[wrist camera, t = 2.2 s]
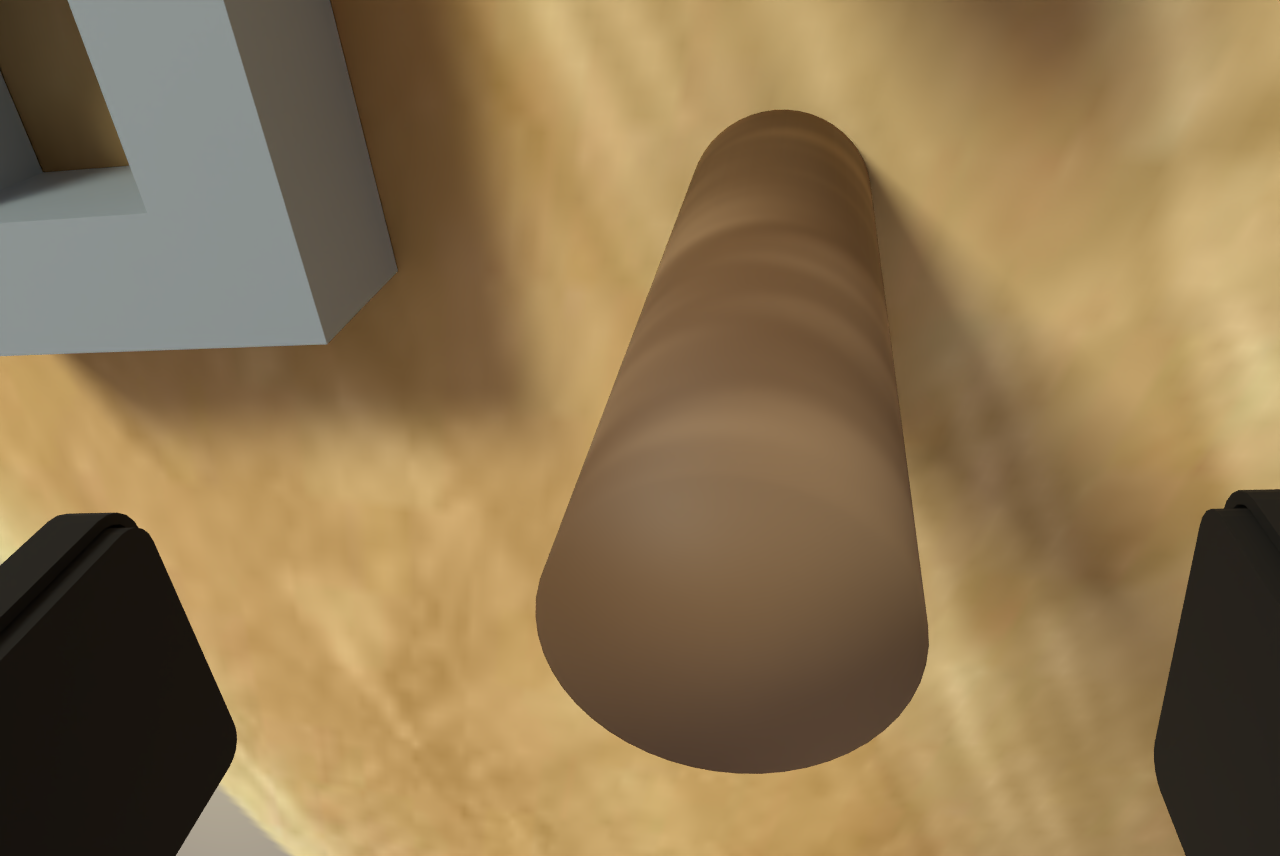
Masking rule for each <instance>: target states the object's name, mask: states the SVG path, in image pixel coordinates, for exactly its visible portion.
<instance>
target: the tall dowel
mask: <svg viewBox="0 0 1280 856" xmlns="http://www.w3.org/2000/svg"><path fill="white" fill-rule="evenodd" d="M536 623H537V631H538V636H539V640H540V643H541V646H542V650H543V653H544V655H545V657H546V660H547V662H548V664H549V666H550V668H551V670H552V672H553V673H554V675H555V677H556V678H557V680H558V681H559V683H560V684H561V686H562V687H563V689H564V690H565V691H566V692H567V693H568V695H569V696H570V697H571V698H572V699H573V700H574V702H575V703H576V704H577V705H578V706H579V707H580V708H581V709H582V710H583V711H585V712H586V713H587V714H588V715H589V716H590V717H591V718H592V719H593V720H595V721H596V722H597V723H599V724H600V725H601V726H603V727H604V728H605V729H607V730H608V731H609V732H611V733H613V734H614V735H616V736H618V737H619V738H621V739H622V740H624V741H626V742H627V743H629V744H631V745H633V746H636V747H638V748H640V749H642V750H644V751H646V752H648V753H650V754H653V755H656V756H658V757H661V758H664V759H666V760H669V761H672V762H676V763H680V764H683V765H687V766H690V767H695V768H700V769H706V770H711V771H718V772H729V773H749V774H763V773H774V772H785V771H791V770H796V769H802V768H807V767H811V766H814V765H817V764H821V763H824V762H828V761H830V760H833V759H835V758H838V757H840V756H843V755H845V754H848V753H850V752H851V751H853V750H855V749H857V748H859V747H861V746H862V745H864V744H866V743H868V742H869V741H870V740H872V739H873V738H874V737H876V736H877V735H879V734H880V733H881V732H883V731H884V730H885V729H886V728H887V727H888V726H889V725H890V724H891V723H892V722H893V721H894V720H895V719H896V718H898V717H899V715H900V714H901V713H902V711H903V710H904V709H905V707H906V706H907V705H908V704H909V702H910V701H911V699H912V697H913V695H914V694H915V692H916V690H917V688H918V686H919V684H920V682H921V679H922V676H923V672H924V669H925V666H926V662H927V654H928V647H929V639H928V622H927V614H926V607H925V599H924V591H923V584H922V576H921V568H920V561H919V553H918V545H917V538H916V530H915V522H914V515H913V507H912V499H911V492H910V484H909V476H908V469H907V461H906V453H905V446H904V438H903V430H902V423H901V415H900V407H899V400H898V392H897V384H896V377H895V369H894V361H893V354H892V346H891V338H890V331H889V323H888V315H887V308H886V300H885V292H884V285H883V277H882V269H881V262H880V254H879V246H878V239H877V231H876V223H875V216H874V208H873V200H872V193H871V185H870V180H869V175H868V171H867V168H866V166H865V163H864V161H863V159H862V157H861V155H860V153H859V151H858V150H857V148H856V147H855V146H854V144H853V143H852V141H851V140H850V139H849V138H848V137H847V136H846V135H845V134H844V133H843V132H842V131H840V130H839V129H838V128H837V127H835V126H834V125H832V124H831V123H829V122H827V121H825V120H824V119H822V118H819V117H817V116H814V115H812V114H808V113H804V112H800V111H793V110H772V111H765V112H761V113H757V114H753V115H750V116H748V117H746V118H743V119H741V120H739V121H737V122H736V123H734V124H732V125H731V126H729V127H728V128H726V129H725V130H724V131H723V132H721V133H720V134H719V135H718V136H717V137H716V138H715V139H714V140H713V141H712V142H711V144H710V145H709V146H708V148H707V149H706V150H705V152H704V153H703V155H702V157H701V159H700V160H699V162H698V165H697V167H696V170H695V172H694V175H693V178H692V180H691V183H690V186H689V188H688V191H687V193H686V196H685V199H684V201H683V204H682V207H681V209H680V212H679V214H678V217H677V220H676V222H675V225H674V228H673V230H672V233H671V236H670V238H669V241H668V243H667V246H666V249H665V251H664V254H663V257H662V259H661V262H660V264H659V267H658V270H657V272H656V275H655V278H654V280H653V283H652V286H651V288H650V291H649V293H648V296H647V299H646V301H645V304H644V307H643V309H642V312H641V315H640V317H639V320H638V322H637V325H636V328H635V330H634V333H633V336H632V338H631V341H630V343H629V346H628V349H627V351H626V354H625V357H624V359H623V362H622V365H621V367H620V370H619V372H618V375H617V378H616V380H615V383H614V386H613V388H612V391H611V394H610V396H609V399H608V401H607V404H606V407H605V409H604V412H603V415H602V417H601V420H600V422H599V425H598V428H597V430H596V433H595V436H594V438H593V441H592V444H591V446H590V449H589V451H588V454H587V457H586V459H585V462H584V465H583V467H582V470H581V472H580V475H579V478H578V480H577V483H576V486H575V488H574V491H573V494H572V496H571V499H570V501H569V504H568V507H567V509H566V512H565V515H564V517H563V520H562V523H561V525H560V528H559V530H558V533H557V536H556V538H555V541H554V544H553V546H552V549H551V551H550V554H549V557H548V559H547V562H546V565H545V567H544V570H543V573H542V575H541V578H540V582H539V586H538V591H537V596H536Z"/></svg>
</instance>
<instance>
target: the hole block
mask: <svg viewBox="0 0 1280 856" xmlns="http://www.w3.org/2000/svg"><path fill="white" fill-rule="evenodd" d="M68 3H69V5H70V8H71V11H72V13H73V16H74V19H75V21H76V24H77V27H78V29H79V32H80V35H81V38H82V40H83V43H84V46H85V48H86V51H87V54H88V56H89V59H90V62H91V64H92V67H93V70H94V72H95V75H96V78H97V80H98V83H99V86H100V88H101V91H102V94H103V96H104V99H105V102H106V104H107V107H108V110H109V112H110V115H111V118H112V120H113V123H114V126H115V128H116V131H117V134H118V136H119V139H120V142H121V144H122V147H123V150H124V152H125V155H126V158H127V160H128V163H129V166H120V167H107V168H94V169H81V170H68V171H55V172H42V169H41V167H40V165H39V162H38V160H37V158H36V155H35V153H34V150H33V148H32V146H31V143H30V141H29V139H28V136H27V134H26V131H25V129H24V127H23V124H22V122H21V119H20V117H19V115H18V112H17V110H16V108H15V105H14V103H13V100H12V98H11V96H10V93H9V91H8V89H7V86H6V84H5V81H4V79H3V77H2V74H1V72H0V356H14V355H42V354H70V353H98V352H126V351H154V350H181V349H209V348H237V347H265V346H293V345H321V344H328V343H329V342H330V341H331V340H332V339H333V338H334V337H335V336H336V334H337V333H338V332H339V331H340V330H341V329H342V328H343V327H344V326H345V325H346V324H347V323H348V322H349V321H350V320H351V319H352V318H353V317H354V316H355V315H356V314H357V313H358V312H359V311H360V310H361V309H362V308H363V307H364V306H365V305H366V304H367V302H368V301H369V300H370V299H371V298H372V297H373V296H374V295H375V294H376V293H377V292H378V291H379V290H380V289H381V288H382V287H383V286H384V285H385V284H386V283H387V282H388V281H389V280H390V279H391V278H392V277H393V276H394V275H395V274H396V273H397V272H398V270H397V266H396V262H395V258H394V254H393V250H392V246H391V242H390V238H389V234H388V230H387V226H386V222H385V218H384V214H383V210H382V206H381V202H380V198H379V194H378V190H377V186H376V182H375V178H374V174H373V170H372V166H371V162H370V158H369V154H368V150H367V146H366V142H365V138H364V134H363V130H362V126H361V122H360V118H359V114H358V110H357V106H356V102H355V98H354V94H353V90H352V86H351V82H350V78H349V74H348V70H347V66H346V62H345V58H344V54H343V51H342V47H341V43H340V39H339V35H338V31H337V27H336V23H335V19H334V15H333V11H332V7H331V3H330V0H68Z"/></svg>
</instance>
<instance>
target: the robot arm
mask: <svg viewBox="0 0 1280 856" xmlns="http://www.w3.org/2000/svg"><path fill="white" fill-rule="evenodd" d="M236 743H237V734H236V728H235V725H234V722H233V720H232V718H231V715H230V713H229V711H228V709H227V706H226V704H225V702H224V700H223V697H222V695H221V693H220V690H219V688H218V686H217V684H216V681H215V679H214V677H213V675H212V672H211V670H210V668H209V666H208V663H207V661H206V659H205V657H204V654H203V652H202V650H201V648H200V645H199V643H198V641H197V639H196V636H195V634H194V632H193V629H192V627H191V625H190V623H189V620H188V618H187V616H186V614H185V611H184V609H183V607H182V605H181V602H180V600H179V598H178V596H177V593H176V591H175V589H174V587H173V584H172V582H171V580H170V577H169V575H168V573H167V571H166V568H165V566H164V564H163V562H162V559H161V557H160V555H159V553H158V550H157V548H156V546H155V544H154V541H153V540H152V538H151V536H150V535H149V533H147V532H146V531H145V530H143V529H141V528H138V526H137V525H136V523H135V522H134V521H133V520H132V519H131V518H129V517H128V516H127V515H124V514H120V513H79V514H64V515H59V516H56V517H55V518H53V519H52V520H50V521H49V522H47V523H46V524H45V525H44V526H43V527H42V528H41V529H40V530H39V531H37V532H36V533H35V534H34V535H33V536H32V537H31V538H30V539H29V540H28V541H27V542H25V543H24V544H23V545H22V546H21V547H20V548H19V549H18V550H17V551H16V552H15V553H13V554H12V555H11V556H10V557H9V558H8V559H7V560H6V561H5V562H4V563H3V564H1V565H0V856H176V854H177V853H178V851H179V849H180V848H181V846H182V844H183V843H184V841H185V839H186V838H187V836H188V834H189V833H190V831H191V829H192V828H193V826H194V824H195V823H196V821H197V819H198V818H199V816H200V814H201V813H202V811H203V809H204V808H205V806H206V805H207V803H208V801H209V800H210V798H211V796H212V795H213V793H214V791H215V790H216V788H217V786H218V785H219V783H220V782H221V780H222V778H223V777H224V775H225V773H226V772H227V770H228V768H229V767H230V764H231V762H232V760H233V758H234V754H235V751H236ZM1154 763H1155V772H1156V776H1157V781H1158V785H1159V788H1160V791H1161V794H1162V796H1163V799H1164V801H1165V804H1166V806H1167V809H1168V812H1169V814H1170V817H1171V819H1172V822H1173V824H1174V827H1175V829H1176V832H1177V834H1178V837H1179V840H1180V842H1181V845H1182V847H1183V850H1184V852H1185V855H1186V856H1280V489H1275V490H1238V491H1236V492H1234V493H1232V494H1231V496H1230V497H1229V498H1228V500H1227V501H1226V504H1225V507H1224V509H1210V510H1208V511H1206V513H1205V514H1204V516H1203V517H1202V520H1201V524H1200V527H1199V532H1198V537H1197V542H1196V547H1195V551H1194V556H1193V561H1192V566H1191V571H1190V576H1189V580H1188V585H1187V590H1186V595H1185V600H1184V604H1183V609H1182V614H1181V619H1180V624H1179V629H1178V633H1177V638H1176V643H1175V648H1174V653H1173V657H1172V662H1171V667H1170V672H1169V677H1168V681H1167V686H1166V691H1165V696H1164V701H1163V706H1162V710H1161V715H1160V720H1159V725H1158V730H1157V734H1156V739H1155V746H1154Z"/></svg>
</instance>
